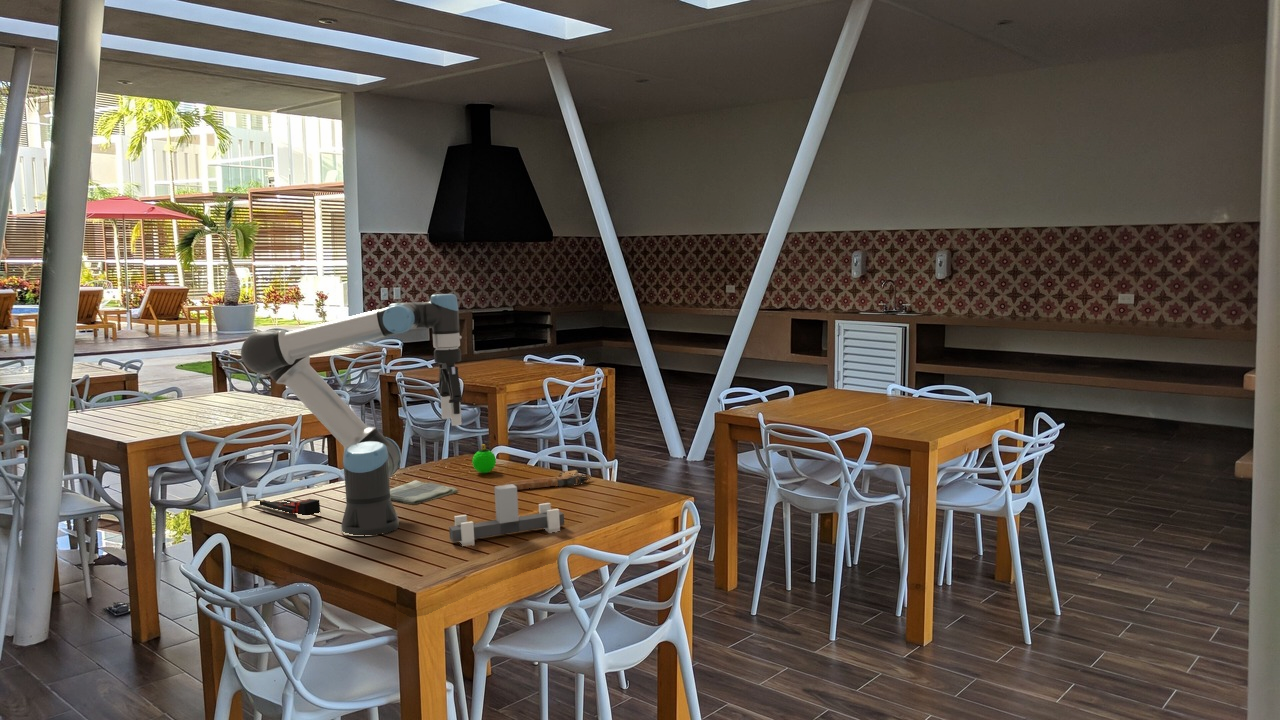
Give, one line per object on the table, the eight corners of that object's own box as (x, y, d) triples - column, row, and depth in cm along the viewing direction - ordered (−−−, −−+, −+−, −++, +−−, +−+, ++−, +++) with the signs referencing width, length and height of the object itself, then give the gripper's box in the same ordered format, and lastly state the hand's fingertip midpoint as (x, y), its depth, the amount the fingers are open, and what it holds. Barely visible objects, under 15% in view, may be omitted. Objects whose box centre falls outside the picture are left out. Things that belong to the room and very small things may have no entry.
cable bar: (453, 542, 238) (450, 496, 237) (449, 538, 242) (447, 492, 240) (564, 524, 250) (562, 481, 249) (559, 521, 253) (557, 478, 252)
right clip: (549, 533, 246) (548, 511, 245) (539, 525, 254) (538, 504, 253) (560, 531, 247) (559, 509, 246) (550, 524, 255) (549, 502, 254)
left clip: (462, 546, 237) (461, 523, 236) (455, 538, 245) (454, 516, 244) (474, 545, 238) (473, 522, 237) (467, 536, 246) (465, 514, 245)
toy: (248, 513, 287) (302, 521, 268) (246, 497, 286) (300, 504, 267) (273, 507, 293) (327, 514, 274) (272, 491, 293) (326, 498, 274)
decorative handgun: (501, 476, 307) (505, 484, 292) (585, 467, 313) (593, 474, 299) (502, 485, 307) (506, 494, 292) (586, 476, 313) (594, 484, 299)
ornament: (500, 470, 324) (499, 442, 323) (490, 476, 316) (488, 447, 315) (479, 470, 326) (478, 442, 325) (468, 475, 319) (467, 446, 318)
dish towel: (413, 507, 281) (413, 496, 281) (376, 499, 292) (376, 489, 291) (460, 493, 296) (459, 483, 295) (423, 487, 307) (422, 477, 306)
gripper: (470, 350, 255) (474, 426, 258) (451, 344, 278) (455, 414, 280) (442, 352, 253) (447, 429, 255) (425, 346, 275) (430, 417, 278)
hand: (451, 421), depth 268 cm, fingers open, 13 cm apart
